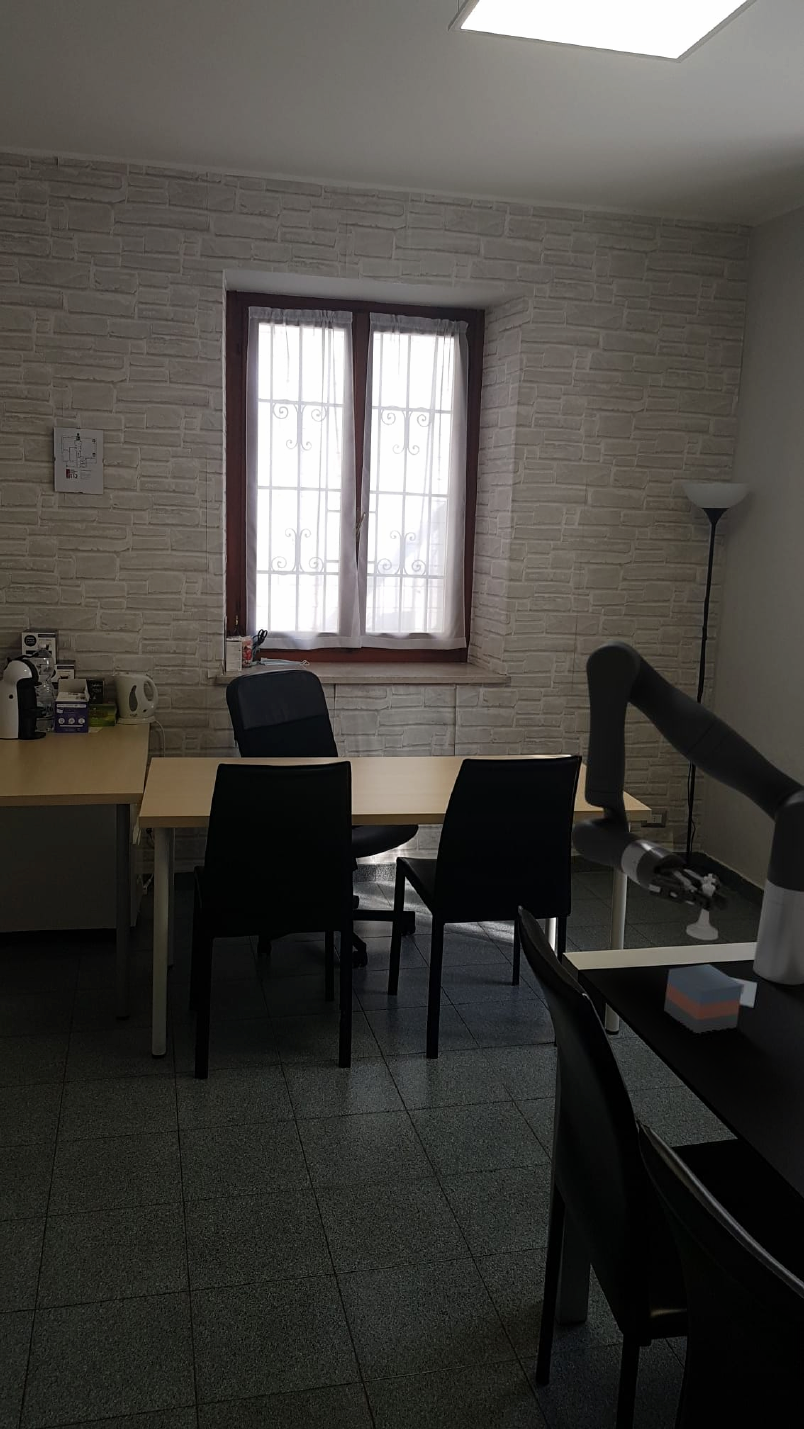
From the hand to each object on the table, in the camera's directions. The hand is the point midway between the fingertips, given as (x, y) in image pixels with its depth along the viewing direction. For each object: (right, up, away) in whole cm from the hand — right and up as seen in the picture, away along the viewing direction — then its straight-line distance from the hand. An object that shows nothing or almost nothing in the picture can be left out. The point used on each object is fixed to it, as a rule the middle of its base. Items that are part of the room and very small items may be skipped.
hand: (719, 905), depth 167 cm
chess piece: (-2, -5, +4) cm, 7 cm away
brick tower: (-2, -19, +5) cm, 20 cm away
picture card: (+7, -18, +16) cm, 25 cm away
